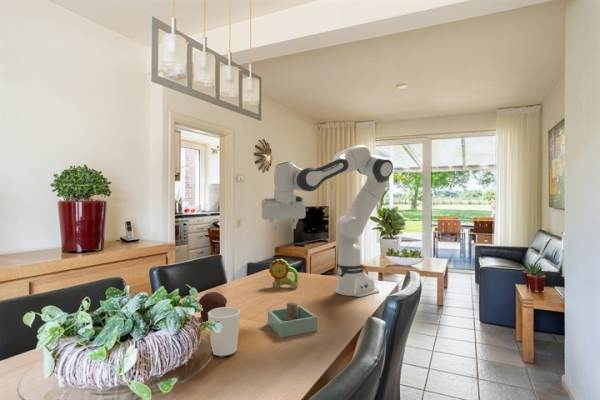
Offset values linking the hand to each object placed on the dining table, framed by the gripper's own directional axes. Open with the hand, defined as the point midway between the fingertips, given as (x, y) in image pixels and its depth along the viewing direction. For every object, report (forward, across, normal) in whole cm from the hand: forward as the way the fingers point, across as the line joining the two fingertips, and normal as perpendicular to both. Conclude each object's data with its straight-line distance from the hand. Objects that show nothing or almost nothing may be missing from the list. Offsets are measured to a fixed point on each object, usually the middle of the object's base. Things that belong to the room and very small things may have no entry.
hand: (283, 229), depth 148 cm
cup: (+34, -34, -35) cm, 60 cm away
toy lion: (+34, +11, +28) cm, 46 cm away
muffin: (+34, -32, -3) cm, 47 cm away
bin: (+34, -7, -25) cm, 43 cm away
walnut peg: (+34, -7, -25) cm, 42 cm away
